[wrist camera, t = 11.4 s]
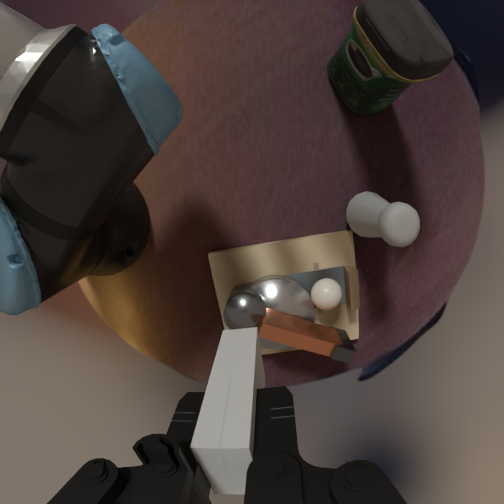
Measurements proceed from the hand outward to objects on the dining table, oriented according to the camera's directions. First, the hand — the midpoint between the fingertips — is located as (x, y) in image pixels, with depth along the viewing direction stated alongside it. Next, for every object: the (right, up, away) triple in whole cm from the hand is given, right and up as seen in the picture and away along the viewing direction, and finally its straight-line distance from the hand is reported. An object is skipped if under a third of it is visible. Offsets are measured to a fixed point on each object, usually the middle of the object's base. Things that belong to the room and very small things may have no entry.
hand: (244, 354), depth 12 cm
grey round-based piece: (+5, -4, +26) cm, 27 cm away
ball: (+10, 0, +25) cm, 27 cm away
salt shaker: (+15, +10, +24) cm, 30 cm away
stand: (+5, -2, +27) cm, 28 cm away
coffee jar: (+15, +28, +20) cm, 37 cm away
